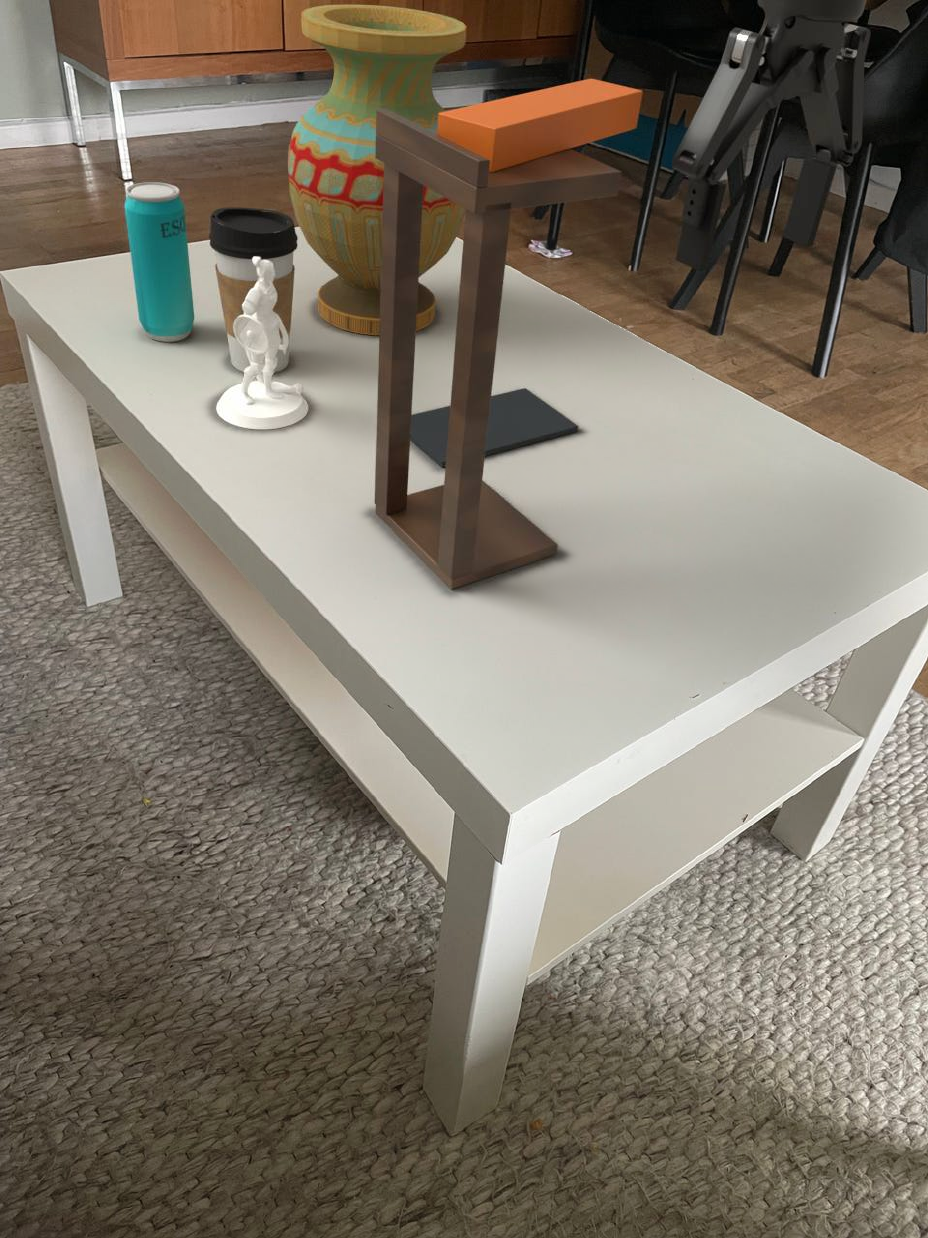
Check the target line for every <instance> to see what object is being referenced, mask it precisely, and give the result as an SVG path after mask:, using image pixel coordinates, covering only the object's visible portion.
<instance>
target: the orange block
mask: <svg viewBox="0 0 928 1238" xmlns="http://www.w3.org/2000/svg"><path fill="white" fill-rule="evenodd" d="M642 98H643V90H641V89H637V88H633V87H629V86H624V85H620V84H617V83H616V84H615V83H611V82H607V81H604V80H599V79H596V78H587V79H582V80H578V81H574V82H570V83H565V84H561V85H556V86H551V87H547V88H543V89H539V90H534V91H529V92H525V93H521V94H517V95H511V96H508V97H503V98H499V99H495V100H490V101H486V102H480V103H477V104H472V105H467V106H464V107H459V108H454V109H450V110H445V112H441V113H439V114H438V128H437V134H438V135H440V136H442V137H444V138H446V139H448V140H450V141H452V142H454V143H456V144H458V145H460V146H462V147H464V148H466V149H468V150H470V151H472V152H475V153H477V154H479V155H481V156H483V157H485V158H487V159H489V160H490V166H489V172H495V171H498V170H501V169H505V168H508V167H511V166H514V165H518V164H521V163H524V162H527V161H531V160H534V159H537V158H541V157H544V156H547V155H550V154H554V153H557V152H560V151H563V150H567V149H573V148H577V147H579V146H583V145H586V144H590V143H593V142H596V141H599V140H603V139H605V138H610V137H612V136H616V135H619V134H622V133H626V132H629V131H632V130H635V129H636V130H637V127H638V121H639V115H640V109H641V104H642V103H641V102H642Z"/></svg>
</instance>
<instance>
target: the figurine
mask: <svg viewBox="0 0 928 1238" xmlns="http://www.w3.org/2000/svg"><path fill="white" fill-rule="evenodd" d="M252 261H253V264H254V265H255V266H256V267H257V274H258V276H259V278H258V281H257V282H256V284H255V286H254V288H252V289H251V290H250V291H249V293H248V294H247V296H246V298H245V301H244V303H243V304H242V306H243V307H242V309H243V311H244V315H240V316H238V317H237V318H236V319H235V320H234V323H233V331H234V334H235V337H236V339H237V340H238V342H239V343H240V344H241V345H242V346H243V347H244V348H245V350H246V353H247V356H248V359H249V362H250V364H251V366H249V367H247V368H246V369H245V370H244V372H243V373H244V374H243V379H242V382H241V383H238V384H236V385H232V386H231V387H229V388H227V390H226V391H225V392H223V394H222V396H221V397H220V399H219V400H218V401H217V403H216V412H217V414H218V416H219V417H220V418H221V419H222V420H224V421H225V422H227V423H228V424H230V425H233V426H236V427H238V428H239V427H240V428H243V429H250V430H275V429H280V428H286V427H289V426H292V425H295V424H296V423H298V422H300V421H301V420H303V419H304V418H305V416H307V414H308V412H309V405H308V402H307V401H306V399H305V398H304V396H303V395H302V394H301V393H303V391H304V386H303V385H302V384H300V383H294V384H293V385H289V384H285V383H282V382H279V381H273V375H274V374H275V373H276V372H275V367H276V366H277V357H276V354H277V351H278V349H280V350H284V354H285V353H286V349H287V347H288V344H289V345H290V343H289V339H288V334H287V331H286V329H285V327H284V325H283V323H282V321H281V319H280V317H279V315H278V314H276V313H275V312H273V308H274V306H275V304H276V301H277V292H276V289H275V287H274V285H273V281H274V279H273V278H274V276H275V269H274V266H273V263H272V262H270V261H268V260H262V261H261V258H260V257H255V256H254V257H253V258H252ZM278 327H279V328H280V330H281V332H282V336H283V345H280V343H281V338H280V335H279V328H278ZM264 357H265V363H264V362H263V360H264ZM264 364H265V365H264ZM261 372H263V374H262V373H261ZM274 372H275V373H274ZM255 378H256V379H257V380H255Z"/></svg>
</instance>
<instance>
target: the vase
mask: <svg viewBox="0 0 928 1238" xmlns="http://www.w3.org/2000/svg"><path fill="white" fill-rule="evenodd" d="M300 15H301V16H300V17H301V18H300V19H301V32H302V35H304V36H305V37H306V38H307V39H309V40H311V41H312V42H314V43H315V44H317V45H319V46H321V47H322V48H323V49H325V50H326V51H327V52H328V54H329V55H330V57H331V59H332V61H333V78H332V84H331V86H330V89H329V90H328V92H327V93H326V94H325V95H324V96H323V97H321V99H319V100H318V101H316V102H315V103H314V104H313V105H312V106H311V107H310V108H309V109H308V110H307V111H306V112H305V113H304V114H303V115H302V116H301V117H300V118H299V120H298V121H297V122H296V125H295V126H294V128H293V129H292V133H291V137H290V140H289V145H288V153H287V172H288V184H289V187H288V188H289V196H290V201H291V205H292V208H293V212H294V217H295V220H296V222H297V224H298V227H299V229H300V230H301V233H302V235H303V237H304V239H305V240H306V243H307V245H309V247H310V248H311V249H312V250H313V251H314V252H315V253H316V254H317V255H318V257H319V258H320V259H321V260H322V261H323V263H325V265H327V266H328V267H329V268H330V269H331V270H332V271H334V273H335V274H337V276H336V277H333V278H332V279H330V280H328V281H327V282H326V283H324V284H323V285H321V286H320V288H319V289H318V291H317V311H318V314H319V316H320V317H321V318H322V319H323V320H324V321H325V322H327V323H328V324H330V325H332V326H334V327H335V328H338V329H341V330H343V331H348V332H351V333H356V334H362V335H370V336H379V328H380V292H381V257H382V222H383V187H384V163H383V162H381V161H380V160H378V159H376V158H375V149H376V110H377V109H388V110H390V111H392V112H394V113H396V114H398V115H400V116H402V117H404V118H406V119H408V120H410V121H412V122H414V123H416V124H418V125H420V126H422V127H424V128H426V129H428V130H436V129H437V128H438V114H439V113H441V112H445V111H446V110H445V108H443V107H442V105H440V103H439V102H438V101H437V100H436V98H435V95H434V92H433V85H432V84H433V83H432V75H433V71H434V67H435V65H436V63H437V62H438V61H440V59H442V58H443V57H445V56H447V55H450V54H452V53H455V52H458V51H459V50H461V49H463V48H464V47H465V45H466V39H467V25H465V23H464V22H462V21H460V20H458V19H456V18H454V17H450V16H447V15H444V14H439V13H435V12H430V11H425V10H420V9H413V8H407V7H399V6H398V7H397V6H389V5H388V6H387V5H376V4H350V3H349V4H327V5H319V6H317V5H316V6H313V7H309V8H306V9H304V10H303V11H301V14H300ZM465 214H466V209H465V208H463V207H461V206H459V205H458V204H456V203H454V202H452V201H451V200H449V199H447V198H445V197H444V196H442V195H440V194H438V193H436V192H435V191H433V190H431V189H429V188H428V187H426V186H424V185H423V204H422V223H421V242H420V261H419V278H420V277H422V276H423V275H424V274H426V273H427V272H428V271H429V270H430V269H432V268H433V267H435V266H436V264H437V263H439V262H441V260H442V259H443V258H444V257H445V256H446V255H447V254H448V252H449V251H450V249H451V247H452V245H453V244H454V242H455V240H456V239H457V237H458V235H459V233H460V231H461V228H462V225H463V222H464V220H465ZM436 305H437V299H436V297H435V294H434V293H433V292H432V291H431V290H430V289H429V288H428V287H427V286H425V285H424V284H422V283H421V282H420V281H418V300H417V319H416V332H418V331H420V330H422V329H424V328H426V327H428V326H429V325H430V324H431V323H432V322H433V321H434V319H435V316H436Z"/></svg>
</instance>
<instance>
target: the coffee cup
mask: <svg viewBox="0 0 928 1238" xmlns="http://www.w3.org/2000/svg"><path fill="white" fill-rule="evenodd" d="M209 218H210V229H209V232H210V233H209V234H208V239H209V246H210V247H211V249H212V250H214V254H215V255H214V256H215V261H216V263H215V265H214V267H215V269H214V270H215V273H216V280H217V286H218V291H219V292H218V293H219V296H220V297H219V298H220V302H221V309H222V315H223V321H224V326H225V331H226V335H227V341H228V349H229V355H230V362H231V364H232V366H233V367H234V369H236V370H237V371H240V372H243V373H244V370H245V369H246V368H247V367H249V366H251V364H250V362H249V359H248V356H247V353H246V350H245V348H244V347H243V346H242V345H241V344H240V343H239V342H238V340H237V339H236V337H235V334H234V331H233V323H234V320H235V319H236V318H237V317H238V316H240V315H244V311H243V309H242V307H243V306H242V304H243V303H244V301H245V298H246V296H247V294H248V293H249V291H250V290H251V289H252V288H254V286H255V284H256V282H257V281H258V278H259V276H258V274H257V267H256V266H255V265H254V264H253V261H252V258H253V257H254V256H255V257H260V258H261V261H262V260H268V261H270V262H272V263H273V266H274V269H275V276H274V278H273V279H274V281H273V285H274V287H275V289H276V292H277V301H276V304H275V306H274V308H273V312H275V313H276V314H278V315H279V317H280V319H281V321H282V323H283V325H284V327H285V329H286V331H287V334H288V339H289V344H288V347H287V349H286V353H285V354H284V350H280V349H278V351H277V354H276V357H277V366H276V367H275V372H274V373H273V374H276V373H278V372H280V371H283V370H285V369H286V368H287V367H288V365H289V361H290V342H291V340H290V339H291V327H292V311H293V299H294V284H295V269H296V267H295V265H294V252H295V251H296V250H297V248H298V234H297V233H296V226H295V222H294V220H293V218H292V217H291V216H289V215H287V214H285V213H283V212H279V211H276V210H275V211H274V210H270V209H263V208H257V207H256V208H255V207H240V206H239V207H232V206H231V207H220V208H217V209H215V210H214V211H213V212H211V214H210V217H209ZM278 328H279V327H278ZM279 335H280V338H281V343H280V345H283V336H282V332H281V330H280V328H279ZM263 362H264V363H265V357H264V360H263ZM264 365H265V364H264ZM261 373H262V375H263V372H261Z"/></svg>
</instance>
